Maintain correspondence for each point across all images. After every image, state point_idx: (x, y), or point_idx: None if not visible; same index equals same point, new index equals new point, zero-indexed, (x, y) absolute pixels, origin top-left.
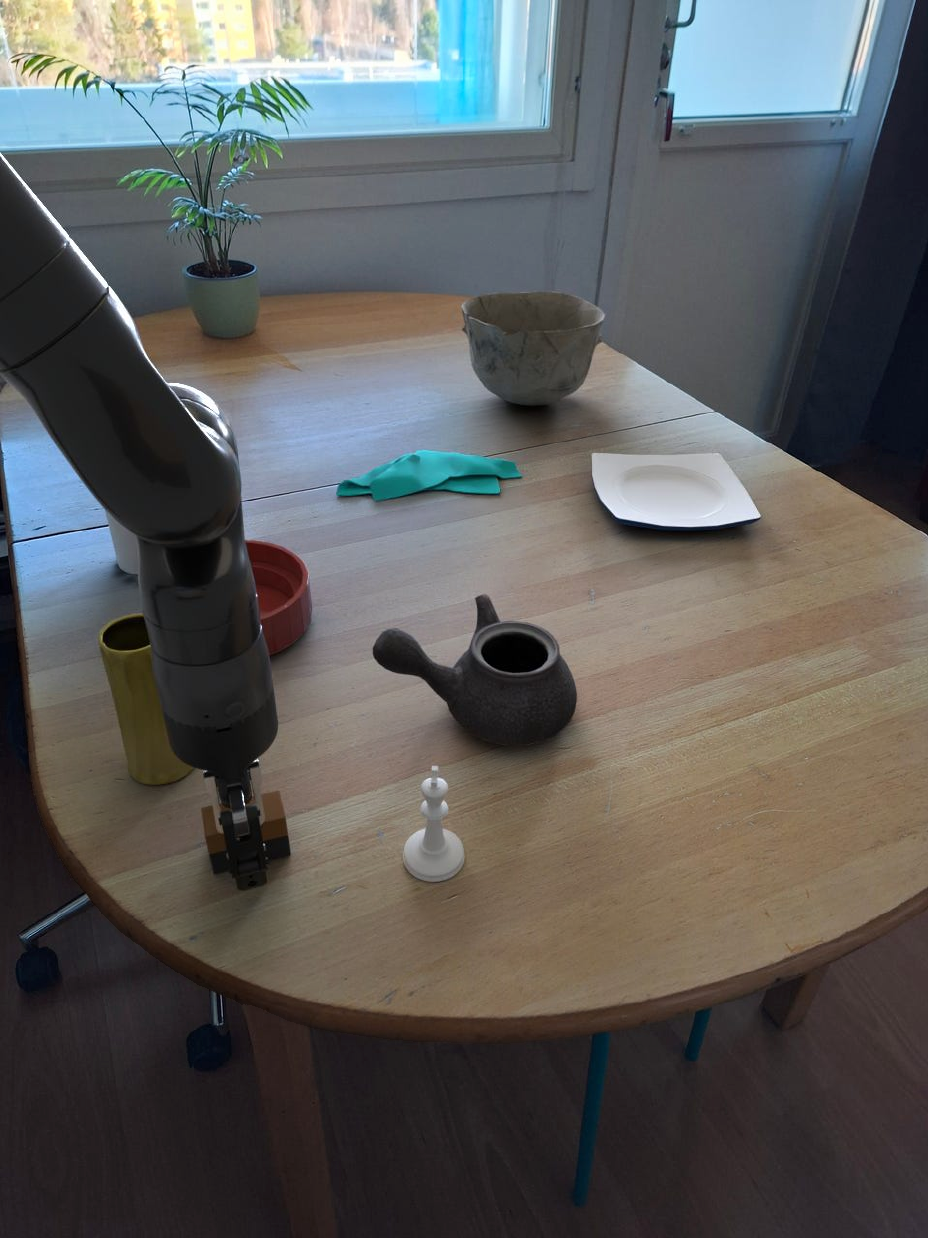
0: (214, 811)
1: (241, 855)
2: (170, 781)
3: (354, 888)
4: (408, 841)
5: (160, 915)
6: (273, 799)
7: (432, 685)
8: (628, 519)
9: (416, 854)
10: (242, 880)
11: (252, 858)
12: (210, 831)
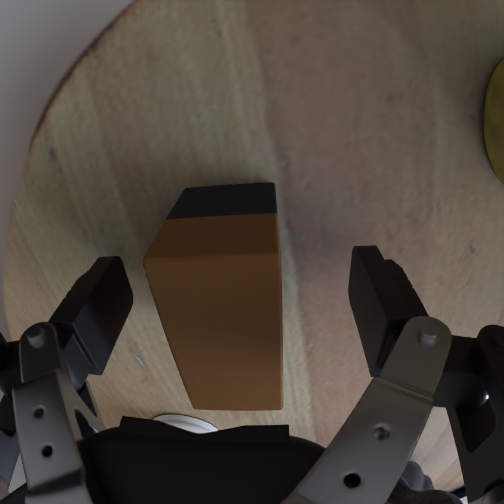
0: (21, 440)
1: (9, 379)
2: (485, 123)
3: (142, 373)
4: (198, 432)
5: (101, 82)
6: (254, 402)
7: (393, 493)
8: (462, 497)
9: None
10: (64, 299)
11: (6, 394)
12: (159, 276)
